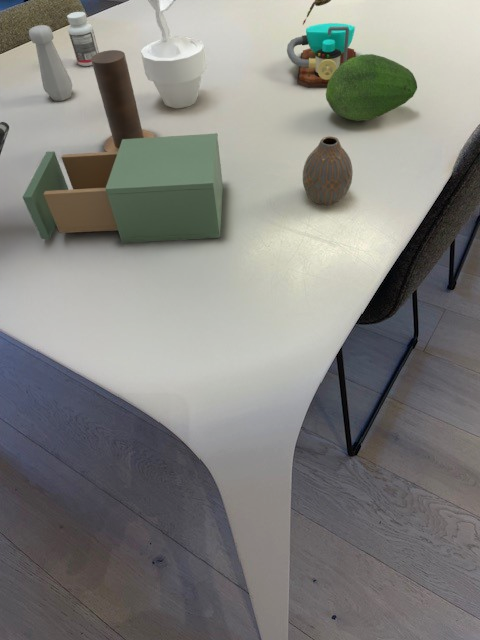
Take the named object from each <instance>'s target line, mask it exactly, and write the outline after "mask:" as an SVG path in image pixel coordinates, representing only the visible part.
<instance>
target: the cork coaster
mask: <svg viewBox="0 0 480 640" xmlns="http://www.w3.org/2000/svg"><path fill="white" fill-rule="evenodd" d="M142 132H143V136H144V138H152V137H156V136H155V134H153V132H151V131H149V130H145V129H142ZM103 149H104V152H115V151H118V150H119V148H117V147H115V145H114V141H113V137H112V135H111V136H109V137H108V138H107V139H106V140H105V141H104V143H103Z"/></svg>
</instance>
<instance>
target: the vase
mask: <svg viewBox="0 0 480 640" xmlns="http://www.w3.org/2000/svg"><path fill="white" fill-rule="evenodd" d="M353 173H354V171H353V163H352V161H351V158H350V156H349V154H348V153H347V151H345V149H344V148H343V146H342V145H341V142H340V140H339V138H338V137H335V136H325V137H322V138H321V139H320V141H319V143H318V145H317V146H316V147H315V148H314V149H313V150H312V151H311V152H310V153H309V155H308V156H307V158H306V160H305V162H304V165H303V168H302V185H303V189H304V191H305V194H306V195H307V197H309V199H311V200H312V201H313V202H315V203H316V204H319V205H324V206H328V205H329V206H330V205H333V204H336V203H338V202H339V201H341V200H342V199H343V198H344V197H345V196H346V195H347V193H348V192H349V190H350V188H351V185H352V181H353V176H354V175H353Z"/></svg>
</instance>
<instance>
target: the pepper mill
mask: <svg viewBox="0 0 480 640" xmlns="http://www.w3.org/2000/svg"><path fill="white" fill-rule="evenodd" d="M91 61H92V65H91V66H92V69H93V72H94V75H95V80H96V83H97V86H98V90H99V94H100V97H101V101H102V104H103V108H104V112H105V115H106V116H105V117H106V119H107V123H108V126H109V127H108V128H109V129H110V133H111V136H112V137H113V141H114V145H115V147H117V148H119V147H120V144H121V142H122V139H135V138H144V136H143V132H142V130H143V128H142V123H141V120H140V115H139V109H138V106H137V101H136V98H135V93H134V89H133V88H134V87H133V84H132V79H131V75H130V70H129V65H128V62H127V57H126V53H125V52H124V51H122V50H118V49H115V50H114V49H109V50H103V51H99V53H97V54H95V55H94V56H92V58H91Z"/></svg>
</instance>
